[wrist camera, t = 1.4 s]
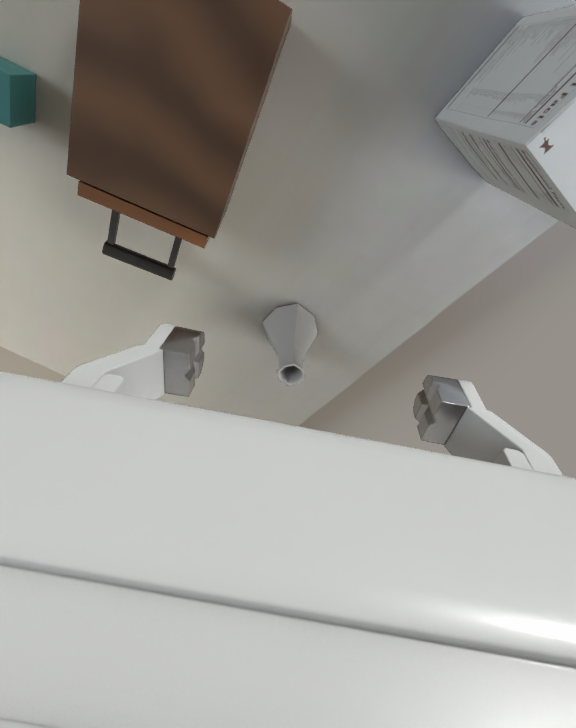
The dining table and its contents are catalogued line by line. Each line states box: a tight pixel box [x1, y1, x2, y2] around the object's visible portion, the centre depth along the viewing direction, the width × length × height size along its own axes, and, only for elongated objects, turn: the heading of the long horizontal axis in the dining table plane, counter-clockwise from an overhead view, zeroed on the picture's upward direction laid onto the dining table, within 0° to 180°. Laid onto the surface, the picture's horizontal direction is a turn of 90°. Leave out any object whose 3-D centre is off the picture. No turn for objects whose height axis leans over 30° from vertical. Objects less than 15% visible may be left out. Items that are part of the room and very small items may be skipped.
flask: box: [263, 304, 318, 386], centre depth 46 cm, size 7×7×10 cm
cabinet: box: [67, 0, 292, 238], centre depth 30 cm, size 17×13×9 cm
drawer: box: [78, 180, 210, 280], centre depth 33 cm, size 21×11×7 cm, turn 155°
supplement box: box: [435, 5, 576, 229], centre depth 28 cm, size 10×9×17 cm
